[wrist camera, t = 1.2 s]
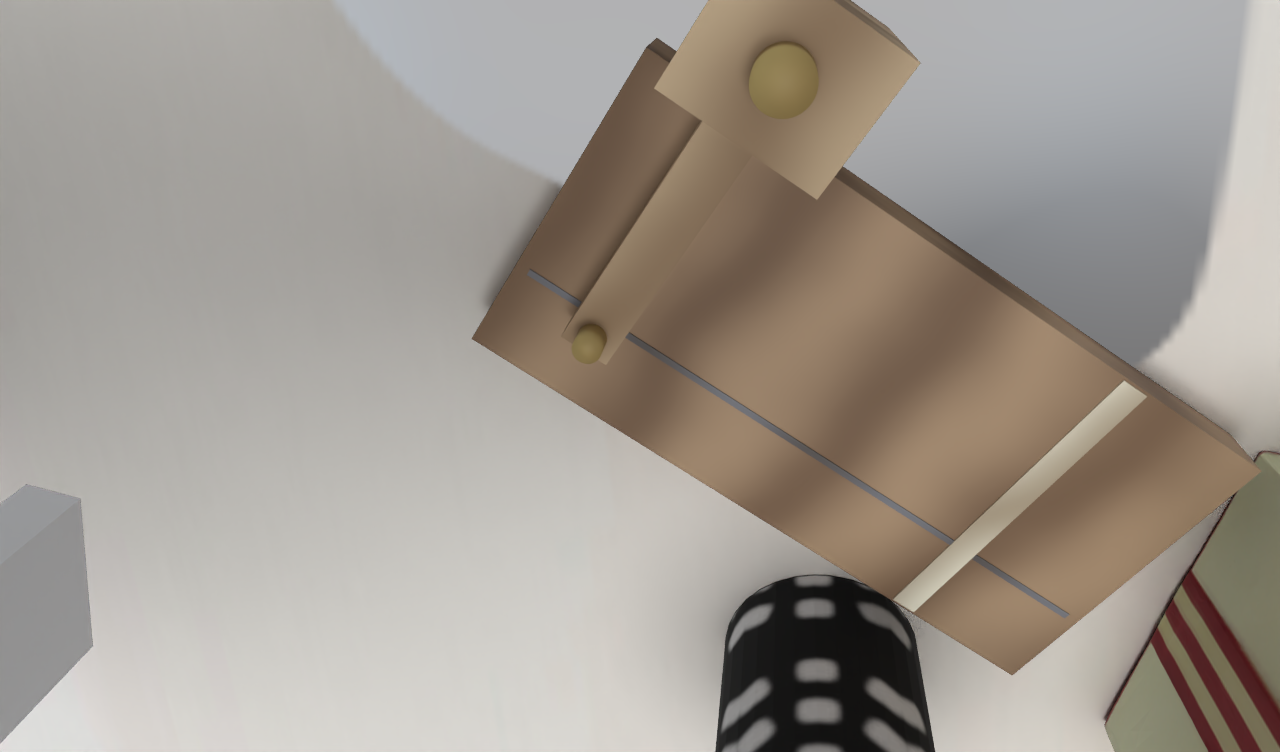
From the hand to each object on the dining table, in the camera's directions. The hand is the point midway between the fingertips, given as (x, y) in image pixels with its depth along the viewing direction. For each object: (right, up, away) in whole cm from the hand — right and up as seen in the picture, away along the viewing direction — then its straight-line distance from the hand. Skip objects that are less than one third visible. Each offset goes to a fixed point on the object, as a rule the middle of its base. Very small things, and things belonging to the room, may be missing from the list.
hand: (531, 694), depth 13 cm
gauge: (+4, +12, +19) cm, 23 cm away
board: (+9, +5, +22) cm, 24 cm away
